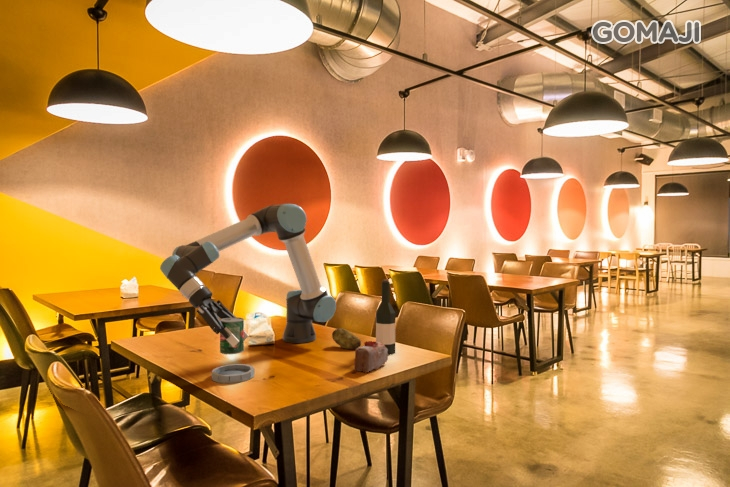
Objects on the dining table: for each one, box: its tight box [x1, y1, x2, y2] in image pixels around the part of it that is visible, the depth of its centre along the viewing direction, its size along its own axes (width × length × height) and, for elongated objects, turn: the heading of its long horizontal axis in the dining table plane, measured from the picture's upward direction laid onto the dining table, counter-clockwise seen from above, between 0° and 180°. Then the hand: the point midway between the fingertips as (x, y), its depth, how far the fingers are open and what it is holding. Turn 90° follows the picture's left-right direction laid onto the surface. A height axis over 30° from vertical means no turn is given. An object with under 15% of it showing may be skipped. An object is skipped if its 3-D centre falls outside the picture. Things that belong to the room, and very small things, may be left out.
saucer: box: [211, 363, 256, 384], centre depth 159 cm, size 14×14×2 cm
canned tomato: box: [219, 316, 245, 355], centre depth 158 cm, size 8×8×11 cm
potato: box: [331, 327, 362, 350], centre depth 199 cm, size 8×13×8 cm, turn 44°
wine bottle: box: [375, 279, 396, 355], centre depth 191 cm, size 8×8×30 cm
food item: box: [354, 340, 389, 373], centre depth 170 cm, size 14×8×10 cm, turn 150°
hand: (241, 341), depth 158 cm, fingers closed on canned tomato, 8 cm apart
